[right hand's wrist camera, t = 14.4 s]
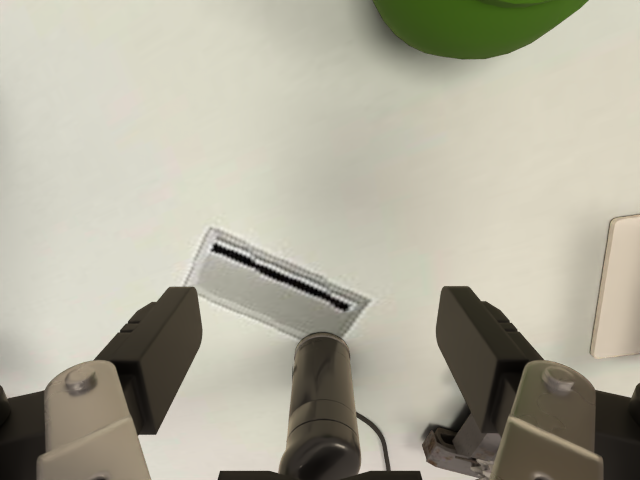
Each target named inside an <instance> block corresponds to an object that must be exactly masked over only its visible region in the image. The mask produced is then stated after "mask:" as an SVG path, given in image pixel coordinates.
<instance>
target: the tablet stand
mask: <svg viewBox="0 0 640 480" xmlns="http://www.w3.org/2000/svg"><path fill="white" fill-rule="evenodd" d="M590 354H591V355H592V356H593V357H594V358H596V359H600V358H608V357H617V356H625V355H634V354H640V215H633V216H625V217H618V218H615V219H613V220H612V221H611V223H610V229H609V236H608V242H607V248H606V255H605V261H604V268H603V274H602V280H601V287H600V293H599V299H598V306H597V312H596V319H595V325H594V331H593V338H592V344H591V351H590Z"/></svg>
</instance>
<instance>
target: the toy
mask: <svg viewBox="0 0 640 480" xmlns="http://www.w3.org/2000/svg"><path fill="white" fill-rule="evenodd" d="M500 442H501V437H500V435H499V433H481V432H480V430H479V427H478V425H477V423H476V421H475V419H474V417H473V415H472V413H471V414H470V415H469V417H468V418H467V420H466V421H465V423H464V424H463V426H462V427H461V429H460V430H459V432H454V431H451V430H447V429H443V428H437V430H436V431H435V433H434V432H433V430H431V431H430V433H429V435H428V436H427V438H426V439H425V441H424V442H423V444H422V446H423V450H424V453H425V456H426V459H427V460H426V462H428V463H430V464H432V465H433V466H435V467H438V468H442V469H446V470H450V471H454V472H457V473H461V474H465V475H469V476H473V477H477V478H479V479H476V480H489V478H490V474H491V471H492V468H493V465H494V461H495V458H496V455H497V452H498V448H499V445H500Z"/></svg>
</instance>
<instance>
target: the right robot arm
mask: <svg viewBox="0 0 640 480" xmlns="http://www.w3.org/2000/svg"><path fill="white" fill-rule="evenodd" d="M436 338H437V343H438V346H439V348H440V350H441V352H442V354H443V356H444V358H445V360H446V363H447V365H448V367H449V369H450V371H451V373H452V375H453V377H454V379H455V381H456V383H457V385H458V387H459V389H460V391H461V393H462V395H463V397H464V399H465V401H466V403H467V405H468V407H469V409H470V411H471V413H472V415H473V417H474V419H475V421H476V423H477V425H478V427H479V430H480V432H481V433H499V435H500V437H501V442H500V445H499V448H498V452H497V455H496V458H495V461H494V465H493V468H492V471H491V474H490V478H489V480H640V383H639V384H638V385H637V386H636V388H635V391H634V393H633V395H632V398H630V397H625V396H620V395H616V394H611V393H607V392H602V391H597V390H595V389H594V387H593V385H592V384H591V383H590V382H589V381H588V380H587V379H586V378H585V377H584V376H583V375H581V374H580V373H578V372H577V371H575V370H573V369H571V368H569V367H567V366H565V365H562V364H559V363H556V362H552V361H546V360H544V359H543V358H542V357H541V356H540V355H539V354H538V352H537V351H536V350H535V349H534V348H533V347H532V346H531V344H530V343H529V342H528V341H527V340H526V339H525V338H524V337H523V335H522V334H521V333H520V332H517V329H516V327H515V326H514V325H513V324H512V323H510V321H509V320H508V318H507V317H506V316H505V315H504V314H503V313H502V312H501V310H499V309H497V308H496V307H494V306H493V305H491V304H489V303H488V302H486V301H480V299H479V298H478V297H477V296H476V295H475V293H474V292H473V291H472V290H471V288H470V287H468V286H444V287H443V288H442V291H441V296H440V303H439V310H438V317H437V324H436ZM201 340H202V323H201V316H200V309H199V302H198V295H197V291H196V289H195V287H169V288H168V289H167V290H166V291H165V293H164V294H163V295H162V296H161V297H160V299H159V300H158V301H157V302H151V303H150V304H148V305H146V306H145V307H143V308H141V309H140V310H138V311H137V312H136V313H135V314H134V315H133V316H132V318H131V319H130V320H129V321H128V324H125V325H124V327H123V328H122V329H121V330H120V333H117V334H116V336H115V337H114V338H113V339H112V340H111V341H110V342H109V343H108V345H107V346H106V347H105V348H104V349H103V350H102V351H101V352H100V354H99V355H98V356H97V357H96V358H95V359H94V360H93V361H88V362H84V363H81V364H78V365H75V366H73V367H71V368H69V369H67V370H65V371H63V372H62V373H60V374H59V375H57V376H56V377H55V378H54V379H53V380H52V381H51V382H50V383H49V384H48V385H47V387H46V389H45V390H44V391H40V392H36V393H31V394H27V395H22V396H18V397H13V398H8V399H7V397H6V395H5V393H4V390H3V388H2V386H1V385H0V480H151V478H150V474H149V471H148V468H147V465H146V461H145V458H144V455H143V452H142V448H141V445H140V442H139V439H138V435H156V434H157V432H158V430H159V428H160V426H161V424H162V422H163V420H164V418H165V416H166V414H167V412H168V410H169V408H170V406H171V404H172V402H173V400H174V397H175V395H176V393H177V391H178V389H179V387H180V385H181V383H182V381H183V379H184V377H185V375H186V373H187V371H188V369H189V367H190V365H191V363H192V361H193V359H194V357H195V355H196V353H197V351H198V349H199V347H200V344H201ZM294 360H295V363H294V372H293V369H292V392H291V402H290V412H289V423H288V433H287V444H286V451H285V452H284V454H283V456H282V458H281V461H280V465H279V471H278V473H275V472H271V471H220V473H219V477H218V480H422V477H421V473H420V471H391V470H390V464H389V458H388V452H387V446H386V442H385V439H384V437H383V435H382V433H381V432H380V430H379V429H378V428H377V427H376V426H375V425H374V424H373V423H372V422H371V421H369V420H368V419H366V418H365V417H364V416H362V415H360V414H359V413H357V412H356V410H355V401H354V392H353V384H352V375H351V366H350V352H349V348H348V346H347V345H346V343H345V342H344V341H343V340H342V339H341V338H339V337H338V336H336V335H333V334H330V333H315V334H311V335H309V336H307V337H305V338H304V339H303V340H301V341H300V343H299V344H298V345H297V347H296V350H295V357H294ZM356 417H357V418H359V419H360V420H362V421H363V422H365V423H366V424H368V425H369V426H370V427H371V428H372V429H373V430H374V431H375V432H376V433H377V435H378V436H379V438H380V440H381V442H382V446H383V451H384V457H385V462H386V469H387V471H369V472H365V473H361V474H358V473H359V470H360V466H361V451H360V443H359V434H358V426H357V418H356Z"/></svg>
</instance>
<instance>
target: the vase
mask: <svg viewBox="0 0 640 480" xmlns="http://www.w3.org/2000/svg"><path fill="white" fill-rule="evenodd" d="M587 1H588V0H373V2H374V4H375V6H376V8H377V10H378V11H379V13H380V15H381V17H382V19H383V21H384V22H385V23H386V24H387V25H388V27H389V28H390V29H391V30H392V31H393V33H394V34H395V35H396V36H398V37H399V38H400V39H401V40H403V41H404V42H405V43H407V44H408V45H409V46H411V47H413V48H415V49H418V50H420V51H422V52H424V53H427V54H432V55H437V56H442V57H449V58H457V59H487V58H491V57H495V56H500V55H504V54H508V53H511V52H513V51H515V50H517V49H519V48H522V47H524V46H526V45H528V44H531V43H532V42H534V41H535V40H537V39H538V38H540V37H541V36H543V35H544V34H545V33H547V32H548V31H550V30H551V29H553V28H554V27H555V26H557V25H558V24H560V23H561V22H562V21H564V20H565V19H566V18H568V17H569V16H570V15H572V14H573V13H574V12H576V11H577V10H578V9H580V8H581V7H582V6H583V5H584V4H585V3H586V2H587Z"/></svg>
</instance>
